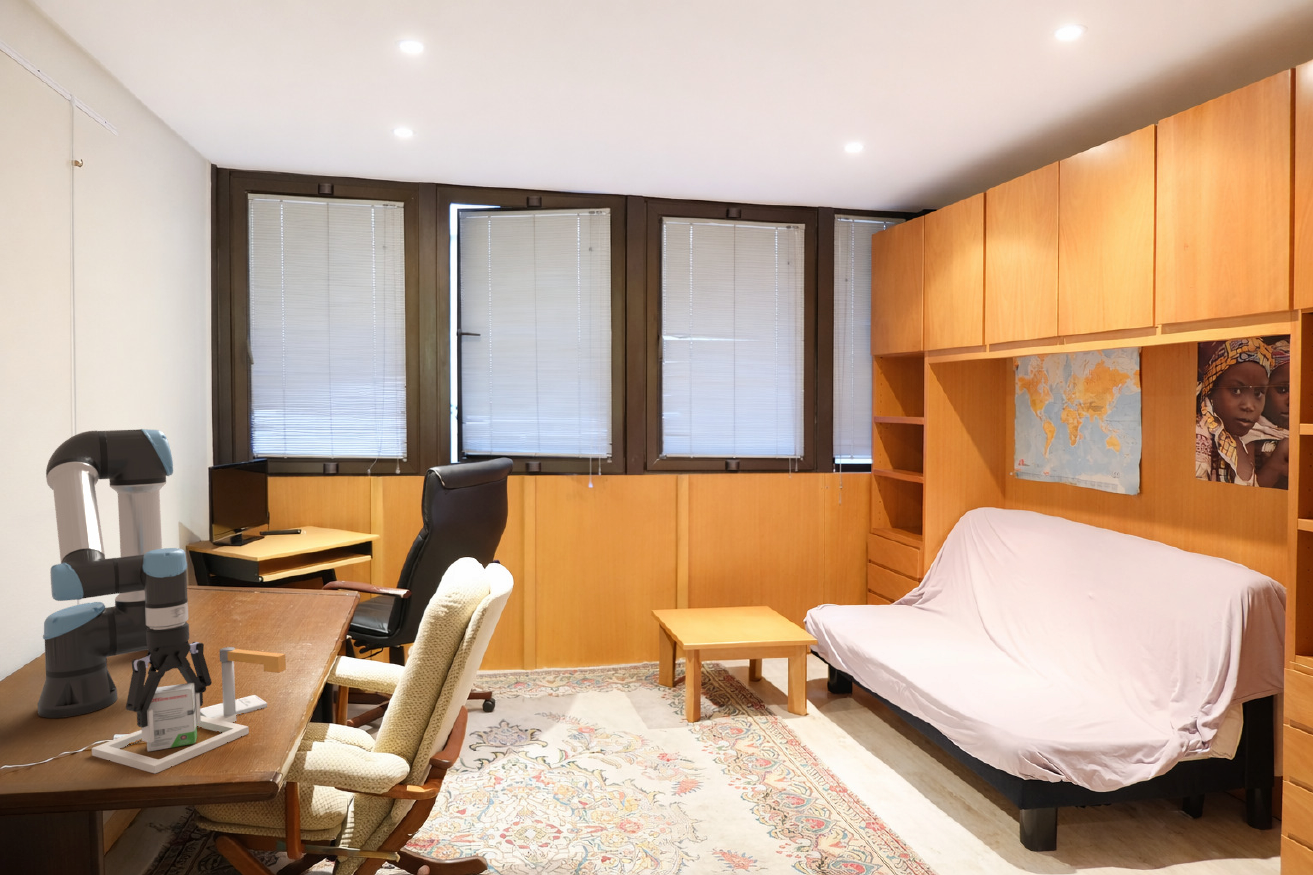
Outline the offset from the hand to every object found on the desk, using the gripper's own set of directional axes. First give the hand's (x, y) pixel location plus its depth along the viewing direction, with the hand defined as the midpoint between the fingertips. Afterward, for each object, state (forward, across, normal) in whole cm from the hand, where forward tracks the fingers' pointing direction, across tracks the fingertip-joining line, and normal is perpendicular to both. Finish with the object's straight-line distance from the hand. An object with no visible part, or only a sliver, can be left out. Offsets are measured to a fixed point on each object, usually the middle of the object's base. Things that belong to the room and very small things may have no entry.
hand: (172, 731), depth 163 cm
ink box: (+3, 0, 0) cm, 3 cm away
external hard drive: (+3, +18, +5) cm, 19 cm away
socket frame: (+3, +2, 0) cm, 3 cm away
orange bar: (-10, +14, -7) cm, 18 cm away
